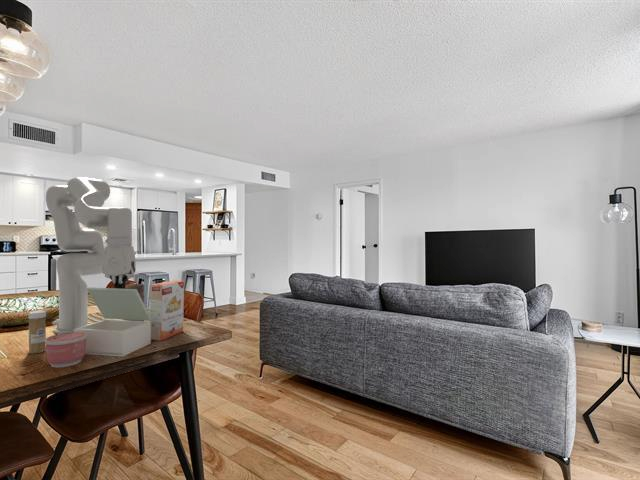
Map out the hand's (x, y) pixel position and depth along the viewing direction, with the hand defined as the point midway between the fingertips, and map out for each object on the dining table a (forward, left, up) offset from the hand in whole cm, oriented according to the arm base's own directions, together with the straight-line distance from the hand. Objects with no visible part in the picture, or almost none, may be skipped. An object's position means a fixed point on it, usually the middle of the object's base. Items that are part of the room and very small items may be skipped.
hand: (119, 294), depth 121 cm
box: (0, -2, -18) cm, 18 cm away
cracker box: (+9, +15, -19) cm, 25 cm away
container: (-4, -17, -19) cm, 26 cm away
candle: (-4, +13, -19) cm, 23 cm away
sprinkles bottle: (-22, -10, -19) cm, 31 cm away
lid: (0, 0, -4) cm, 4 cm away
